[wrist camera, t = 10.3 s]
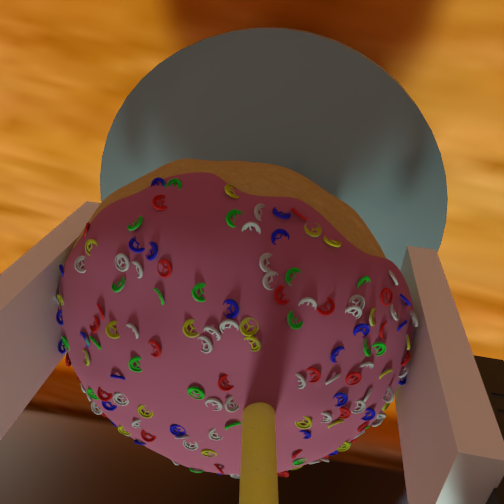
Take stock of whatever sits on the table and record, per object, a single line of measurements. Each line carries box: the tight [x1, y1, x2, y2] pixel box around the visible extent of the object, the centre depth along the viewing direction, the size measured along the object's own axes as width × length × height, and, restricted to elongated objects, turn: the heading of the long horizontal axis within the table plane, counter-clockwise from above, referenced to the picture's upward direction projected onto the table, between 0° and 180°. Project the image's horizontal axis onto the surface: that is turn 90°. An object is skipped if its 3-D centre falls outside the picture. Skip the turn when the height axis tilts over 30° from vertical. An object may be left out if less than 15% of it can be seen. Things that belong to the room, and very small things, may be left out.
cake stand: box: [100, 27, 448, 270], centre depth 20 cm, size 12×12×8 cm
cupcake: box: [55, 158, 418, 504], centre depth 10 cm, size 9×8×12 cm
